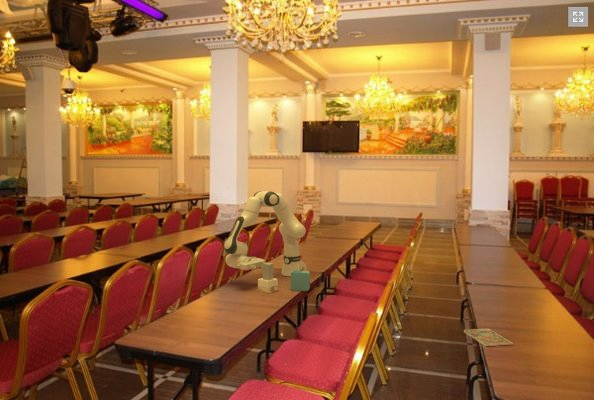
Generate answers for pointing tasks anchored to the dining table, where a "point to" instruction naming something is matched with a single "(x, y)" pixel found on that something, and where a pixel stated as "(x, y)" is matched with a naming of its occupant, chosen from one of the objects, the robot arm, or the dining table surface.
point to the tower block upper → (267, 282)
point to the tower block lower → (267, 289)
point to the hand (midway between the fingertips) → (261, 266)
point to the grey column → (268, 271)
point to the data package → (300, 280)
